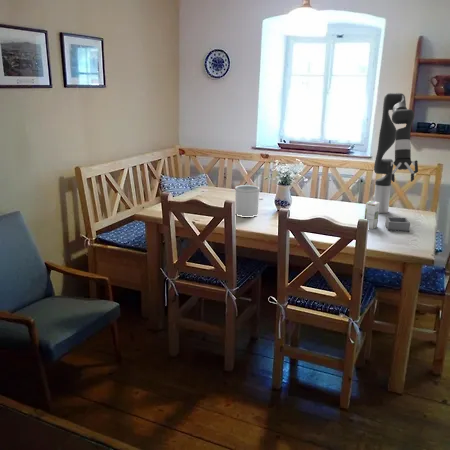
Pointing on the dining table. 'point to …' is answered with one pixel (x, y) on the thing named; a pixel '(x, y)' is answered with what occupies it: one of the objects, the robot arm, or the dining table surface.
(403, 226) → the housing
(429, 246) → the dining table surface
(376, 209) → the syrup box
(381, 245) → the dining table surface
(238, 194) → the utensil holder
